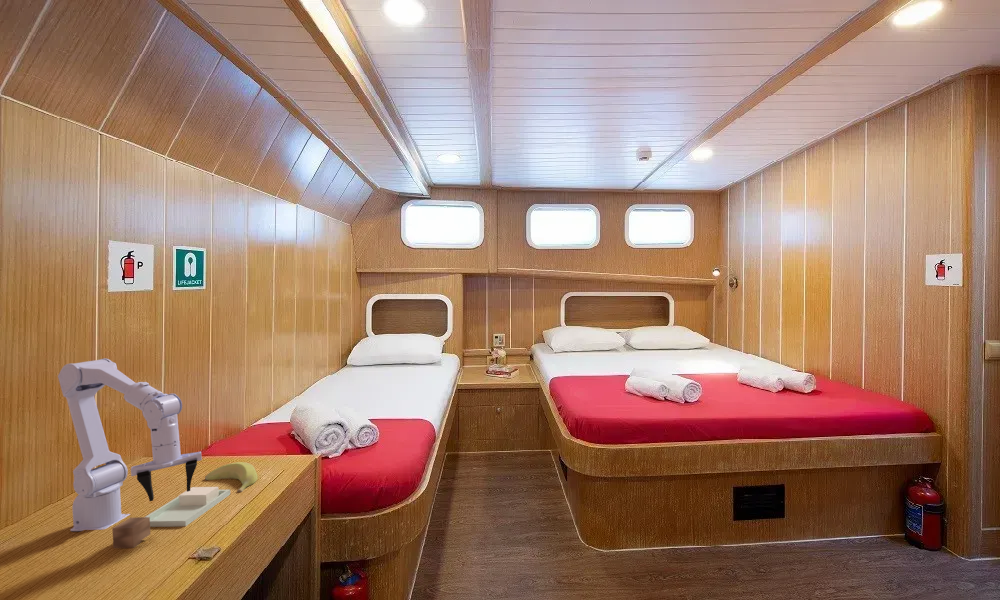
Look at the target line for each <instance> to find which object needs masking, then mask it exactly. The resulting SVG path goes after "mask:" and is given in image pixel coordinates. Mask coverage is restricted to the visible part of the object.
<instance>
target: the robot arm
mask: <svg viewBox="0 0 1000 600" xmlns="http://www.w3.org/2000/svg"><path fill="white" fill-rule="evenodd" d="M57 378H58V382H59V385H60V389H61V394H62V396H63V398H65V399H66V402H67V405H68V410H69V413H70V416H71V419H72V424H73V427H74V431H75V435H76V439H77V441H78V445H79V449H80V453H81V456H82V460H80V463H79V464H78V465H76V467H75V468H74V469H73V471H72V473H73V489H74V492H75V493H76V494H77V496H76V497H75V498H74V500H73V503H72V521H73V523H72V524H73V527H72V528H70V532H83V531H84V530H85V531H88V530H89V531H90V530H91V531H92V530H94V531H97V530H98V531H99V530H102V531H103V530H106V529H108V528H110V527H111V526H113V525H114V524H117V523H119V522H120V521H121V520H123V519H125V518H126V517H128V516H130V515H131V513H122V502H121V501H122V500H121V487H122V486H123V485H124V484H123V483H124V481H125V480H126V479H127V478H128V472H129V471H128V466H127V464H126V463H125V462H124V461H123V458H122V456H121V454H118V453H116V452H112V451H110V449H109V444H108V442H107V439H106V434H105V432H104V427H103V424H102V420H101V416H100V413H99V409H98V405H97V402H96V398H95V396H96V394H97V393H98V391H100V390H102V389H103V388H104V387H105V386H107V387H109V388H111V389H113V390H115V391H117V392H119V393H121V394H124V395H123V399H124V400H125V402H126V403H128V404H130V405H132V406H133V407H135V408H137V409H138V410H140V411H141V412H142V416H143V419H145V421H146V422H147V427H148V429H150V439H151V440H150V441H151V450H152V451H151V453H152V461H148V462H144V463H140V464H138V465H133V466H131V468H130V475H131V477H135V476H136V480H137V481H138V483H139V484H140V485H141V486H142V488H143V489H144V490H145V492H146V494H147V497H148V500H149V502H153V501H154V497H155V495H154V490H153V483H152V482H153V481H152V472H153V471H158V470H162V469H166V468H171V467H175V466H179V465H184V464H185V475H186V476H185V477H186V491H187V492H188V491H190V488H191V483H192V479H193V477H194V476H193V475H194V473H195V471H196V468H197V466H198V462H199V461H203V457H202V451H197V452H196V451H195V452H190V453H183V454H181V444H180V443H181V442H180V431H179V419H178V415H179V414H180V413H181V412H182V410H183V402H182V399H181V398H180V397H179V395H177V394H176V393H163V392H162V391H161V390H159V389H156V388H155V387H153V386H152V385H150V383H149V382H147V381H139V382H135V381H133V379H131V378H129V376H127V375H125V373H123V372H122V371H120V370H119V369H118V367H117V363H116V362H114V361H112V360H111V359H109V358H105V357H104V358H101V359H96V360H95V359H94V360H88V361H81V362H76V363H74V362H73V363H66V364H64V365H63V367H61V369H60V371H59V373H58V375H57ZM97 466H98V467H97Z"/></svg>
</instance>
